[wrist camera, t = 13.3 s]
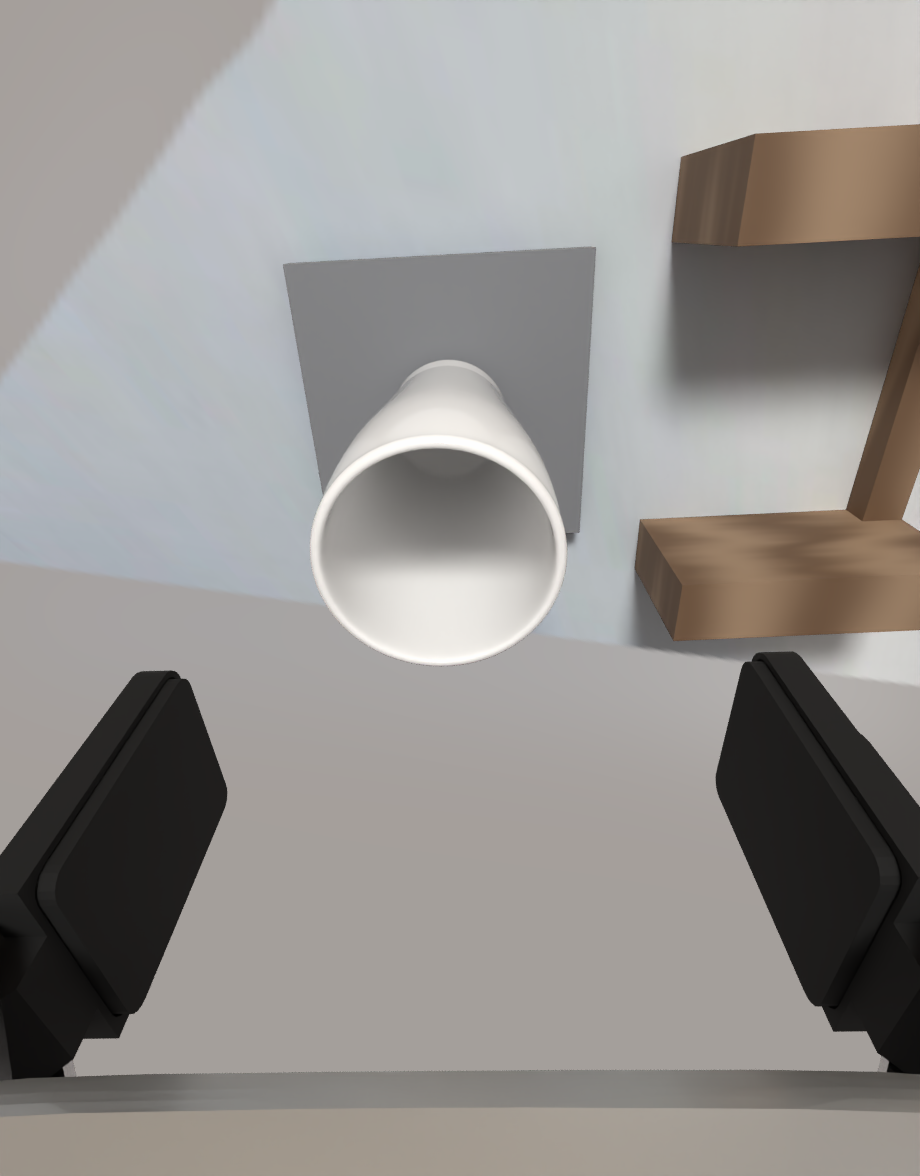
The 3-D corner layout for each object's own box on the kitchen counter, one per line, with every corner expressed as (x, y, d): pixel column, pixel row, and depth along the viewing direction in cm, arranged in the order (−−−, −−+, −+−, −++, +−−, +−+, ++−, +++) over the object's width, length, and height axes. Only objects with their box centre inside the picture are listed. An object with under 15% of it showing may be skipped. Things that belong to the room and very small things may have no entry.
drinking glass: (495, 501, 31) (519, 694, 18) (363, 463, 30) (285, 638, 17) (542, 366, 27) (615, 480, 14) (396, 319, 26) (331, 396, 13)
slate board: (590, 246, 26) (595, 247, 25) (575, 522, 33) (579, 532, 32) (289, 263, 26) (282, 264, 25) (335, 534, 33) (331, 544, 32)
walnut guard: (1006, 138, 24) (1189, 109, 18) (867, 557, 34) (956, 628, 28) (681, 156, 25) (755, 134, 19) (634, 568, 34) (673, 640, 28)
